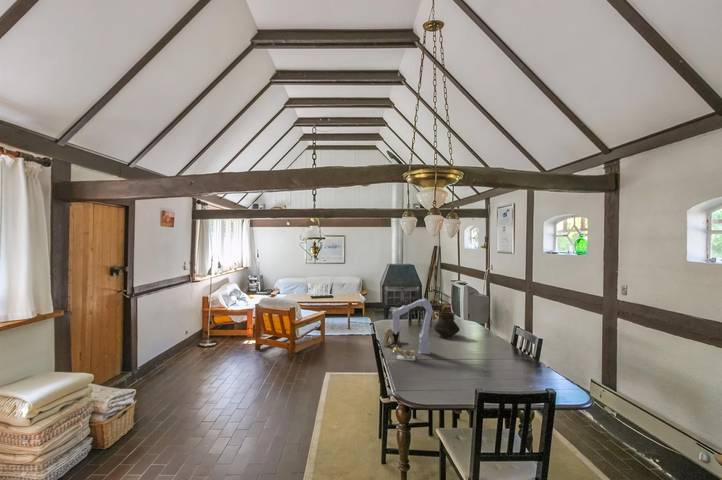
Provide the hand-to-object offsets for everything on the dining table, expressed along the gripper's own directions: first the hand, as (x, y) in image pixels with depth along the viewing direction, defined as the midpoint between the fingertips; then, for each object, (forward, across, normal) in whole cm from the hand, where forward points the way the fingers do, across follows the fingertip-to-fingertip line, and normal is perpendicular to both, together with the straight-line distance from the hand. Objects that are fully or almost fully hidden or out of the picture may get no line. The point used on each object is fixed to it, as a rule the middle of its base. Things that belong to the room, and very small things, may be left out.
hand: (396, 341), depth 304 cm
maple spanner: (+10, +6, +9) cm, 15 cm away
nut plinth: (+10, -1, 0) cm, 10 cm away
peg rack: (+10, +14, +8) cm, 19 cm away
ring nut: (+9, -3, 0) cm, 9 cm away
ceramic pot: (+10, -63, +46) cm, 79 cm away
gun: (+10, -28, -5) cm, 30 cm away
